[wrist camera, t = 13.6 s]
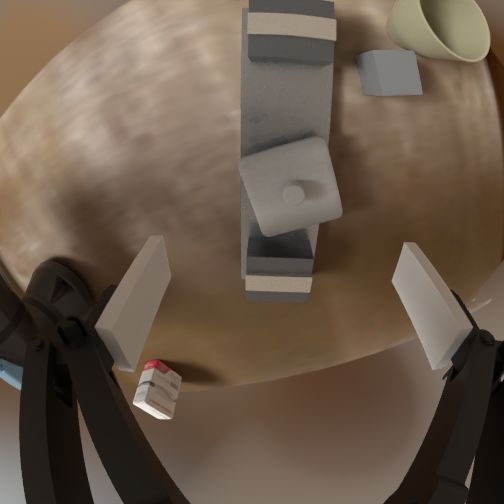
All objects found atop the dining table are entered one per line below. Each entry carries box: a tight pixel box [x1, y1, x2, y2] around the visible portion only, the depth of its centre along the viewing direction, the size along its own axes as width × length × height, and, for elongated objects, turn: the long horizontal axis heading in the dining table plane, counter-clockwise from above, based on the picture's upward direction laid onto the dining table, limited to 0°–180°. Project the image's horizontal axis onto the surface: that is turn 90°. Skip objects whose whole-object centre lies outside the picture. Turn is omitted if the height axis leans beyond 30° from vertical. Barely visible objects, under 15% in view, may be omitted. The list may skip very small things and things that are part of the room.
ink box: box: [133, 359, 182, 419], centre depth 54 cm, size 8×5×12 cm, turn 32°
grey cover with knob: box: [238, 135, 343, 237], centre depth 29 cm, size 10×10×5 cm
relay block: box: [355, 50, 423, 96], centre depth 22 cm, size 5×5×6 cm
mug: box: [386, 0, 490, 62], centre depth 15 cm, size 11×10×12 cm
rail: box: [241, 0, 336, 302], centre depth 29 cm, size 10×36×7 cm, turn 179°
